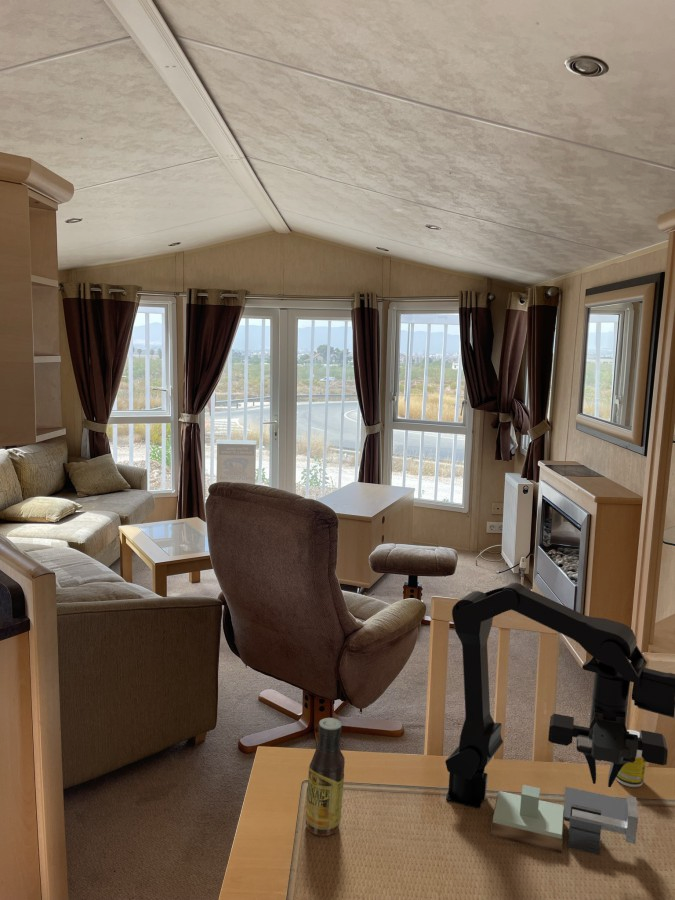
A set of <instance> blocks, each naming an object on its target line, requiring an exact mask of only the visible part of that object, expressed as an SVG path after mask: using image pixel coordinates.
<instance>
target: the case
mask: <svg viewBox="0 0 675 900" xmlns="http://www.w3.org/2000/svg"><path fill="white" fill-rule="evenodd" d="M497 797H498V794H496V800H495V805H494V809H493V814H492V818H491V823H490V824H491V825H490V826H491V827H490V837H494V838H498V839H502V840H506V841H509V842H510V841H511V842H514V843H518V844H523V845H525V846H531V847H534V848H538V849H542V850H547V851H551V852H555V853H557V854H562V851H563V841H564V825H565V819H564V810H565V809H564V810H563V826H562V839H559V838H555V837H551V836H547V835H543V834H539V833H535V832H531V831H526V830H522V829H518V828H514V827H510V826H506V825H502V824H498V823H493V816H494V812H495V807H496V802H497Z"/></svg>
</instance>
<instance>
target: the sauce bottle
mask: <svg viewBox="0 0 675 900" xmlns="http://www.w3.org/2000/svg"><path fill="white" fill-rule="evenodd" d="M317 730H318V742H317V746H316V748H315V751H314V754H313V756H312V759H311V761H310V763H309V765H308V766H309V767H308V778H307V789H306V790H307V791H306V805H305V815H304V816H305V825H306V829H307V830H308V831H309V832H310V833H311V834H313V835H316V836H319V837H320V836H321V837H327V836H331V835H333V834H335V833H337V831H339V827H340V824H341V818H342V807H343V806H342V805H343V795H344V793H343V792H344V782H345V781H344V780H345V763H346V762H345V761H346V760H345V755H344V754H343V752H342V751H341V743H340V741H341V734H342V731H343V724H342V722H341V721H340V720H339V719H336V718H334V717H325V718H322V719H320V720H319V722H318V728H317Z"/></svg>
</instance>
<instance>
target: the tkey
mask: <svg viewBox="0 0 675 900" xmlns="http://www.w3.org/2000/svg"><path fill="white" fill-rule="evenodd" d="M625 800H626V808H625V818H624V821H623V820H618V819H614V818H610V817H605V816H601V815H597V814H592V813H588V812H583V811H579V810H575V809H572V816H574V817H579V818H583V819H587V820H592V821H596V822H600V823H601V830H603V831H604V830H605V831H608V832H612V833H616V834H617V833H618V834H621V835H625V837H624V838H625V842H626V843H628V844H629V843H630V844H633V845H636V840H637V832H638V831H637V830H638V823H639V822H638V821H639V815H638V814H639V812H638V801H637V797H636V796H631V795H626V799H625Z"/></svg>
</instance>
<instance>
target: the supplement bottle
mask: <svg viewBox="0 0 675 900" xmlns="http://www.w3.org/2000/svg"><path fill="white" fill-rule="evenodd" d="M627 731H629V734H635V735H638V738H639V737H640V731H638V730H633V729H627ZM641 754H642V750H637V755H636V757H635V762H634V763H630V762H628V763H626V764H625V765H624V766H623V767H622V768H621V770H620V771H619V773H618V775H617V776H616V778H615V780H617V782H619V783H620V784H622V785H624V786H626V787H630V788H639V787H640V786H642V785H643V784H644V779H645V771H646V763H647V762H646V761H645V760H644V759H643V758H642V755H641Z"/></svg>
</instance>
